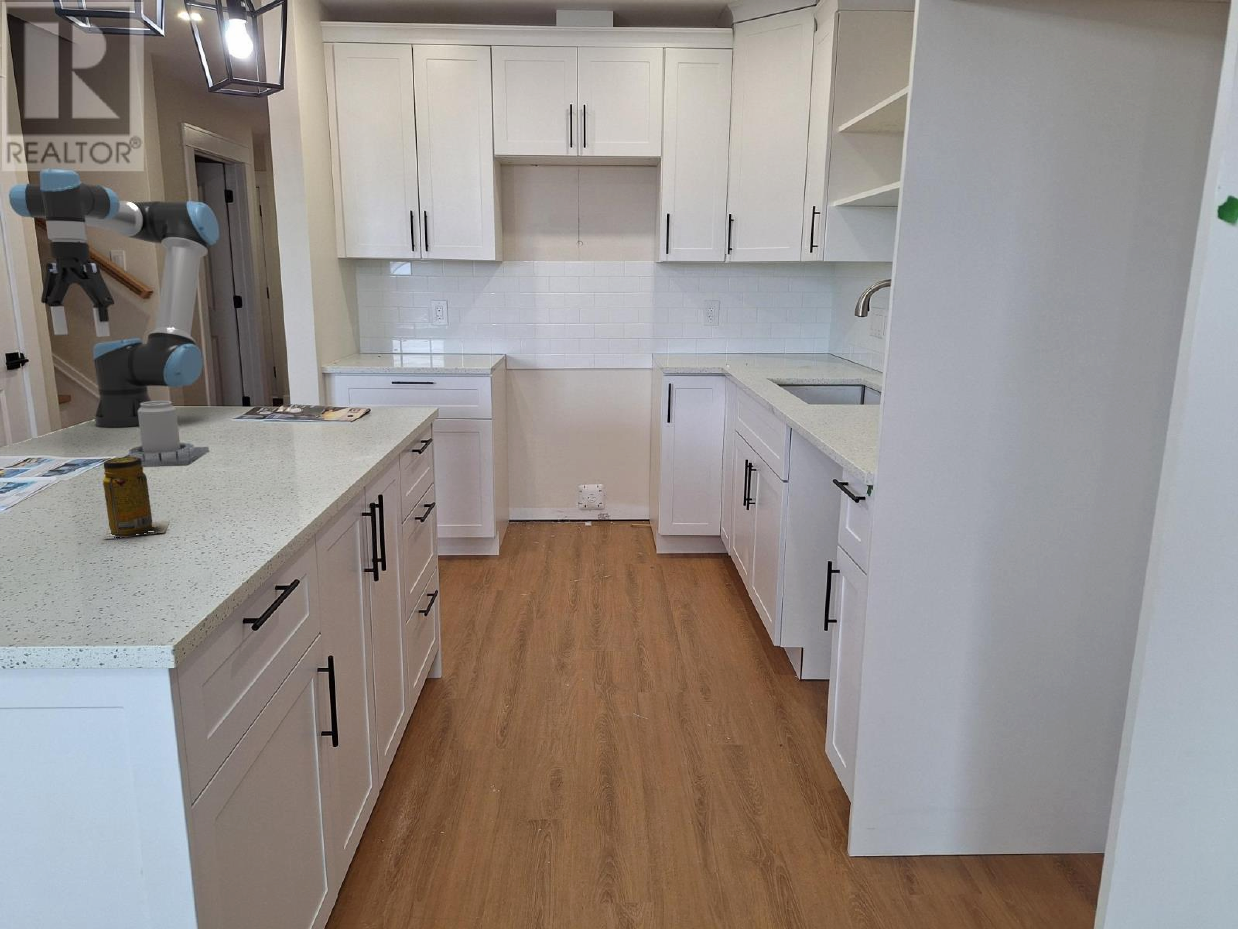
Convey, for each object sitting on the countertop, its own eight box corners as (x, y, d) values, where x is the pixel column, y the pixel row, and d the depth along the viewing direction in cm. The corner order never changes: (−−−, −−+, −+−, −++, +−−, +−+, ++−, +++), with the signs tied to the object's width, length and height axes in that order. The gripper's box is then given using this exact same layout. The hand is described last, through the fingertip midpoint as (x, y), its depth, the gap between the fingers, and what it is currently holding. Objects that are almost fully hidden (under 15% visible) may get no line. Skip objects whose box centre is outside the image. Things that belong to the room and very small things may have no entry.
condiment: (111, 527, 132) (101, 456, 130) (169, 522, 136) (161, 452, 133) (104, 540, 126) (93, 466, 123) (165, 534, 129) (156, 462, 127)
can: (157, 450, 186) (151, 399, 183) (188, 451, 185) (182, 399, 182) (135, 457, 178) (128, 404, 176) (167, 458, 178) (161, 404, 175)
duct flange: (140, 452, 188) (138, 442, 187) (208, 450, 190) (207, 440, 190) (113, 467, 173) (111, 456, 173) (187, 465, 176) (186, 454, 175)
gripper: (124, 241, 182) (136, 336, 187) (46, 242, 190) (59, 332, 195) (93, 240, 175) (106, 338, 180) (13, 241, 183) (28, 334, 188)
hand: (82, 335), depth 187 cm, fingers open, 13 cm apart
